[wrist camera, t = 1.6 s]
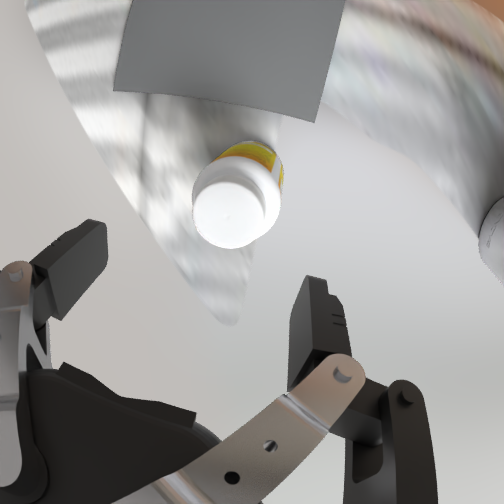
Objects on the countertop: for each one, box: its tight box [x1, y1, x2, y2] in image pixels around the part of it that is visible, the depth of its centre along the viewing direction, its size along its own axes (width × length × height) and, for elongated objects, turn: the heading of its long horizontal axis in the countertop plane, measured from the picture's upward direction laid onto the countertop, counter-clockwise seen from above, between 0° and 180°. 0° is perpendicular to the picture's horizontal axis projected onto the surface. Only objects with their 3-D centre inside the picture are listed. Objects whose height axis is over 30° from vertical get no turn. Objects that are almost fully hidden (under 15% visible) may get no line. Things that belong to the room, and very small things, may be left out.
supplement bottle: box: [192, 141, 283, 249], centre depth 20 cm, size 6×6×10 cm
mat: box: [113, 0, 345, 123], centre depth 18 cm, size 18×13×1 cm
